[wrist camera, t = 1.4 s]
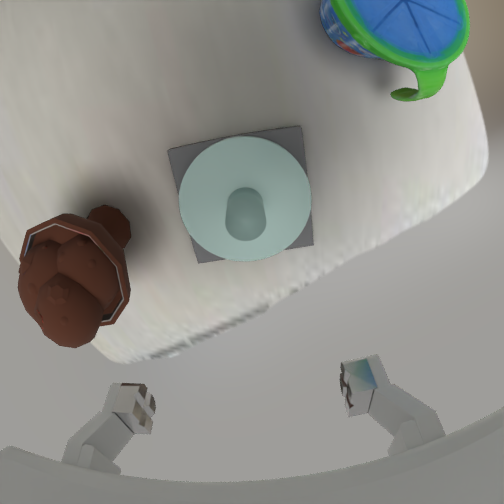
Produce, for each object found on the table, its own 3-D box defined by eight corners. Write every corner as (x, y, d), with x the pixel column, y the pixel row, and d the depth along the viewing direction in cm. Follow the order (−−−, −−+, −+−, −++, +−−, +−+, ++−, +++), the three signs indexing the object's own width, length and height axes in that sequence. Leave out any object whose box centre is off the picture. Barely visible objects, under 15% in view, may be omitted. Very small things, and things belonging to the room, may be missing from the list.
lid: (167, 150, 26) (151, 164, 21) (301, 126, 25) (314, 135, 20) (198, 263, 32) (191, 294, 27) (313, 245, 31) (325, 273, 26)
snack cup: (278, -42, 17) (295, -95, 8) (381, -45, 16) (431, -80, 7) (324, 105, 25) (367, 115, 16) (421, 92, 23) (488, 104, 15)
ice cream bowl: (149, 177, 27) (79, 260, 15) (158, 274, 33) (121, 384, 20) (59, 181, 27) (-32, 253, 14) (78, 269, 32) (19, 361, 20)
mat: (169, 149, 26) (167, 150, 25) (299, 125, 26) (301, 126, 25) (199, 259, 32) (198, 263, 31) (312, 241, 32) (313, 245, 31)
